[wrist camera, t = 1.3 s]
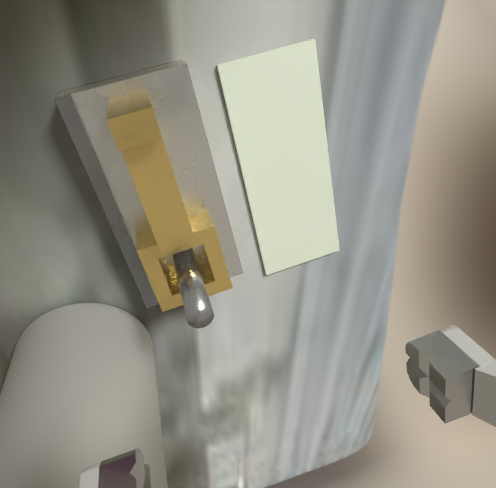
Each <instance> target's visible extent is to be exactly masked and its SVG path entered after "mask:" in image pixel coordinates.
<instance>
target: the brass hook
mask: <svg viewBox="0 0 496 488" xmlns="http://www.w3.org/2000/svg"><path fill="white" fill-rule="evenodd" d="M106 120H107V123H108V125H109V128H110V131H111V133H112V136H113V138H114V141H115V143H116V146H117V149H118V151H120V150H121V151H122V153H123V156H124V159H125V161H126V164H127V166H128V169H129V172H130V174H131V177H132V179H133V182H134V185H135V187H136V190H137V192H138V195H139V198H140V200H141V203H142V205H143V208H144V211H145V213H146V216H147V218H148V221H149V224H150V226H151V228H150V229H147V230H144V231H141V232H138V233H136V245H137V252H138V255H139V257H140V260H141V262H142V264H143V267H144V269H145V271H146V274H147V276H148V279H149V281H150V283H151V286H152V288H153V290H154V293H155V295H156V298H157V300H158V302H159V305H160V307H161V310H162V312H164V311H167V310H170V309H173V308H176V307H178V306H181V305H183V301H182V297H181V292H180V288H179V284H178V279H177V275H176V274H173V275H170V276H168V273H167V271H166V268H165V266H164V263H163V260H162V258H163V257H166V256H169V255H172V254H175V253H178V252H181V251H184V250H187V249H190V248H193V247H197V246H200V245H203V247H204V250H205V253H206V257H207V260H208V263H206V264H203V265H200V266H198V267H199V270H200V273H201V276H202V279H203V282H204V285H205V288H206V292H207V295H208V296H211V295H213V294H216V293H219V292H222V291H225V290H228V289H231V288H233V287H232V284H231V281H230V277H229V274H228V270H227V267H226V264H225V260H224V257H223V253H222V250H221V246H220V243H219V240H218V236H217V233H216V229H215V226H214V224H213V222H212V219H211V217H210V215H209V213H208V211H204V212H201V213H198V214H195V215H192V216H187V213H186V210H185V207H184V204H183V201H182V197H181V194H180V191H179V188H178V185H177V182H176V179H175V176H174V173H173V170H172V167H171V164H170V161H169V158H168V155H167V152H166V148H165V145H164V142H163V139H162V135H161V132H160V129H159V126H158V123H157V120H156V117H155V114H154V111H153V108H152V105H151V102H150V100H149V97H148V94H147V92H146V91H143V92H139V93H136V94H132V95H128V96H125V97H121V98H117V99H114V100H110V101H109V104H108V111H107V119H106Z"/></svg>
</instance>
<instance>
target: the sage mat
mask: <svg viewBox="0 0 496 488" xmlns="http://www.w3.org/2000/svg"><path fill="white" fill-rule="evenodd" d="M217 69H218V74H219V78H220V82H221V86H222V91H223V95H224V99H225V104H226V108H227V112H228V116H229V121H230V125H231V129H232V133H233V138H234V142H235V146H236V150H237V155H238V159H239V163H240V167H241V172H242V176H243V180H244V185H245V189H246V193H247V197H248V202H249V206H250V210H251V214H252V219H253V223H254V227H255V231H256V236H257V240H258V244H259V248H260V253H261V257H262V261H263V265H264V270H265V274H266V275H269V274H272V273H275V272H278V271H281V270H284V269H287V268H290V267H292V266H295V265H298V264H301V263H304V262H307V261H310V260H313V259H316V258H319V257H322V256H325V255H327V254H330V253H333V252H336V251H339V242H338V233H337V225H336V216H335V207H334V199H333V190H332V181H331V173H330V164H329V155H328V147H327V138H326V129H325V121H324V112H323V103H322V95H321V86H320V77H319V69H318V60H317V51H316V43H315V39H311V40H307V41H303V42H300V43H296V44H292V45H289V46H285V47H281V48H278V49H274V50H270V51H266V52H263V53H259V54H255V55H252V56H248V57H244V58H241V59H237V60H233V61H230V62H226V63H222V64H219V65H217Z"/></svg>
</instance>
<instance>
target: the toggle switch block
mask: <svg viewBox="0 0 496 488" xmlns="http://www.w3.org/2000/svg"><path fill="white" fill-rule="evenodd" d="M143 91H146V92H147V94H148V97H149V100H150V102H151V105H152V108H153V111H154V114H155V117H156V120H157V123H158V126H159V129H160V132H161V135H162V139H163V142H164V145H165V148H166V152H167V155H168V158H169V161H170V164H171V167H172V170H173V173H174V176H175V179H176V182H177V185H178V188H179V191H180V194H181V197H182V201H183V204H184V207H185V210H186V213H187V216H192V215H195V214H198V213H201V212H204V211H208V213H209V215H210V217H211V219H212V222H213V224H214V226H215V229H216V233H217V236H218V240H219V243H220V246H221V250H222V253H223V257H224V260H225V264H226V267H227V270H228V274H229V277H233V276H236V275H239V274H242V273H243V271H242V267H241V263H240V259H239V256H238V252H237V248H236V244H235V241H234V237H233V233H232V230H231V226H230V222H229V218H228V215H227V211H226V207H225V204H224V200H223V196H222V192H221V189H220V185H219V181H218V178H217V174H216V170H215V166H214V163H213V159H212V155H211V152H210V148H209V144H208V140H207V137H206V133H205V129H204V126H203V122H202V118H201V114H200V111H199V107H198V103H197V99H196V96H195V92H194V88H193V85H192V81H191V77H190V73H189V70H188V66H187V63H186V62H184V61H183V60H178V61H174V62H170V63H167V64H163V65H159V66H156V67H152V68H148V69H144V70H141V71H137V72H133V73H129V74H126V75H122V76H118V77H114V78H111V79H107V80H103V81H99V82H96V83H92V84H88V85H84V86H81V87H77V88H73V89H69V90H66V91H62V92H60V93H59V94H58V96H57V97H56V98H55V99H54V100H55V102H56V105H57V107H58V109H59V111H60V114H61V116H62V118H63V120H64V123H65V125H66V127H67V129H68V132H69V134H70V136H71V138H72V141H73V143H74V145H75V147H76V150H77V152H78V154H79V156H80V159H81V161H82V163H83V165H84V168H85V170H86V172H87V174H88V177H89V179H90V181H91V184H92V186H93V188H94V190H95V193H96V195H97V197H98V199H99V202H100V204H101V206H102V208H103V211H104V213H105V215H106V217H107V220H108V222H109V224H110V226H111V229H112V231H113V233H114V235H115V238H116V240H117V242H118V244H119V247H120V249H121V251H122V253H123V256H124V258H125V260H126V263H127V265H128V267H129V269H130V272H131V274H132V276H133V278H134V281H135V283H136V285H137V287H138V290H139V292H140V294H141V296H142V299H143V301H144V303H145V305H146V308H150V307H153V306H155V305H158V300H157V298H156V295H155V293H154V290H153V288H152V286H151V283H150V281H149V279H148V276H147V274H146V271H145V269H144V267H143V264H142V262H141V260H140V257H139V255H138V252H137V245H136V233H138V232H141V231H144V230H147V229H150V228H151V226H150V224H149V221H148V218H147V216H146V213H145V211H144V208H143V205H142V203H141V200H140V198H139V195H138V192H137V190H136V187H135V185H134V182H133V179H132V177H131V174H130V172H129V169H128V166H127V164H126V161H125V159H124V156H123V153H122V151H121V150H120V151H118V149H117V146H116V143H115V141H114V138H113V136H112V133H111V131H110V128H109V125H108V123H107V120H106V119H107V111H108V104H109V101H110V100H114V99H117V98H121V97H125V96H128V95H132V94H136V93H139V92H143ZM162 260H163V263H164V266H165V268H166V271H167V273H168V276H170V275H173V274H176V275H177V279H178V284H179V288H180V292H181V297H182V301H183V306H184V310H185V315H186V319H187V323H188V324H189V325H190V326H191V327H194V328H203V327H205V326H207V325H209V324H210V323H211V322H212V320H213V317H214V314H213V310H212V307H211V304H210V301H209V298H208V295H207V292H206V288H205V285H204V282H203V279H202V276H201V273H200V270H199V267H198V266H200V265H203V264H206V263H208V260H207V257H206V253H205V250H204V247H203V245H200V246H197V247H193V248H190V249H187V250H184V251H181V252H178V253H175V254H172V255H169V256H166V257H163V258H162Z"/></svg>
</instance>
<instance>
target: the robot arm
mask: <svg viewBox="0 0 496 488" xmlns="http://www.w3.org/2000/svg"><path fill="white" fill-rule="evenodd" d="M406 353H407V355H408V356H409V357H410V358H409V360H408V361H407V363H406V364H407V372H408V375H409V377H410V380H411V382H412V383H413V385H414V387H415V388H416V389H417V391H418V392H419V393H420V394H422V395H425V396H427V397H429V398H430V406H431V407H432V409H434V411H435V412H436V413H437V414H438V416H439V417H440V418H441V419H442V420H443V422H444V423H448V422H451V421H453V420H456V419H458V418H461V417H463V416H466V415H468V414H471V413H472V415H473V416H475V417H478V418H479V419H481V420H483V421H485V422H487V423H489V424H491V425H493V426H495V427H496V360H495V359H494V358H493V357H492V356H490V355H489V354H488V353H487V352H486V351H485V350H484V349H482V348H481V347H480V346H479V345H478V344H476V343H475V342H474V341H473V340H472V339H470V338H469V337H468V336H467V335H466V334H465V333H463V332H462V331H461V330H460V329H459V328H458V327H456V326H454V325H451V326H449V327H446V328H444V329H441V330H438V331H437V332H436V331H435V332H433V333H430V334H428V335H425V336H423V337H420V338H418V339H415V340H413V341H411V342H408V343H407V344H406ZM79 488H157V484H156V480H155V476H154V474H153V471H152V469H151V467H150V465H148V464H145V463H144V455H143V453H142V452H141V450H140V449H139V448H138V449H134V450H132V451H129V452H126V453H123V454H121V455H118V456H115V457H112V458H109V459H107V460H104V461H101V462H99V463H96V464H93V465H91V466H88V467H85V468H83V469H82V472H81V474H80V481H79Z"/></svg>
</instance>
